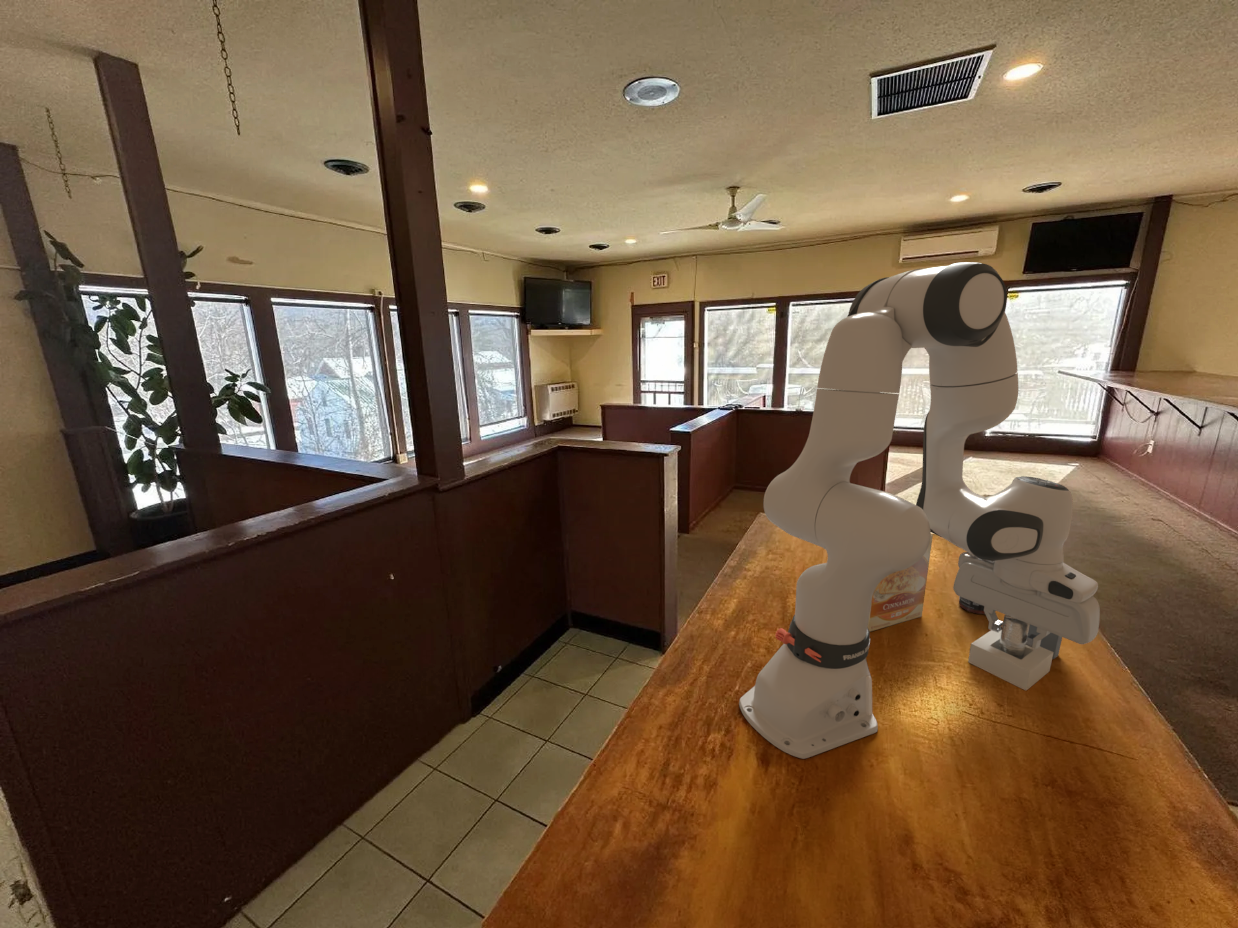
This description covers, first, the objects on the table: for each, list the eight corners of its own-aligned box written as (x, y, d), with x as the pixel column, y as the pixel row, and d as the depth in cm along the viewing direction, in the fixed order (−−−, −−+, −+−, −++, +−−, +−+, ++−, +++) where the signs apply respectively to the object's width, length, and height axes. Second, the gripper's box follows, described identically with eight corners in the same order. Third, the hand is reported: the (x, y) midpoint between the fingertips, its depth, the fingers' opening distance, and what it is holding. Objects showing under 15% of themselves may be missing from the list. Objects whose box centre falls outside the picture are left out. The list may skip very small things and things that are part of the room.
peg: (1015, 676, 87) (1024, 627, 84) (991, 665, 90) (1000, 617, 87) (1024, 668, 88) (1034, 620, 86) (1001, 658, 91) (1010, 611, 89)
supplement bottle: (980, 600, 110) (987, 555, 107) (997, 615, 104) (1005, 567, 101) (952, 600, 111) (959, 555, 108) (967, 615, 105) (975, 567, 102)
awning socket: (1036, 695, 82) (1053, 617, 78) (959, 657, 92) (970, 586, 88) (1075, 662, 89) (1092, 589, 85) (999, 630, 99) (1011, 564, 95)
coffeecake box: (869, 632, 101) (877, 546, 96) (843, 615, 107) (850, 533, 102) (924, 617, 105) (934, 534, 100) (896, 600, 112) (905, 522, 107)
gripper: (951, 551, 91) (942, 616, 95) (1096, 599, 74) (1078, 676, 77) (969, 543, 94) (959, 606, 98) (1111, 587, 77) (1093, 661, 80)
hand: (1013, 637), depth 87 cm, fingers open, 4 cm apart
